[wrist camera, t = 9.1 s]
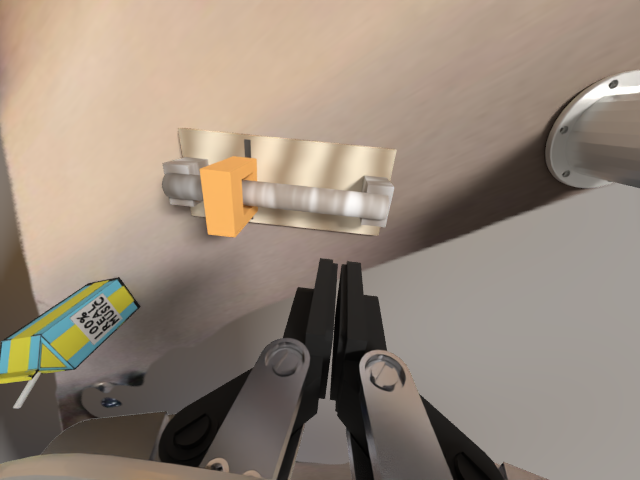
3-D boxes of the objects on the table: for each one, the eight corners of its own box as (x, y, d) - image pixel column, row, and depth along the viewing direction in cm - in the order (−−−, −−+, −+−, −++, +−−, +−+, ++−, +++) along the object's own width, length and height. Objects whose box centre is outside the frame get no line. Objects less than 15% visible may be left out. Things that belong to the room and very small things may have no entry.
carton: (111, 315, 49) (1, 412, 33) (86, 283, 46) (-50, 374, 30) (143, 309, 48) (44, 407, 32) (120, 277, 45) (-4, 367, 29)
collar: (256, 158, 31) (230, 172, 24) (257, 210, 35) (235, 237, 27) (233, 156, 31) (199, 168, 24) (236, 208, 35) (208, 234, 27)
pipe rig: (394, 149, 32) (410, 158, 25) (377, 232, 37) (385, 258, 31) (182, 127, 33) (141, 130, 26) (195, 213, 38) (163, 234, 31)
